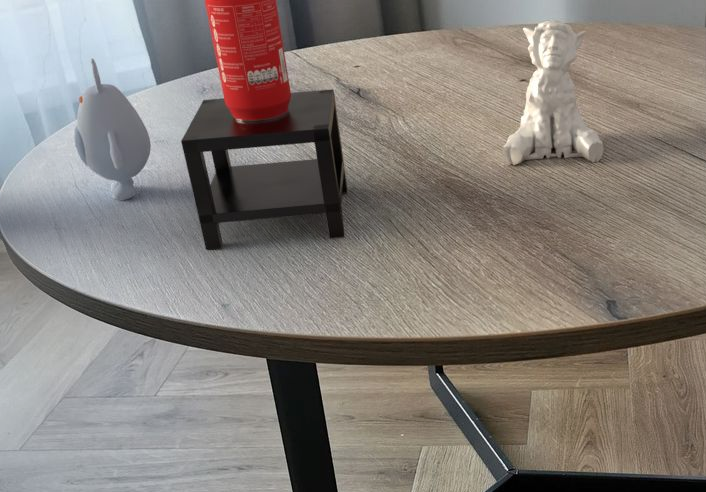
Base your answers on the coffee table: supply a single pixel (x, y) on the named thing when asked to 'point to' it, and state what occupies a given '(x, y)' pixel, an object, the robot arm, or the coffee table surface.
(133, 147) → the toy figure
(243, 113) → the beverage can
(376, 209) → the coffee table surface
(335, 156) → the miniature side table
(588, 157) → the seated beast figurine
